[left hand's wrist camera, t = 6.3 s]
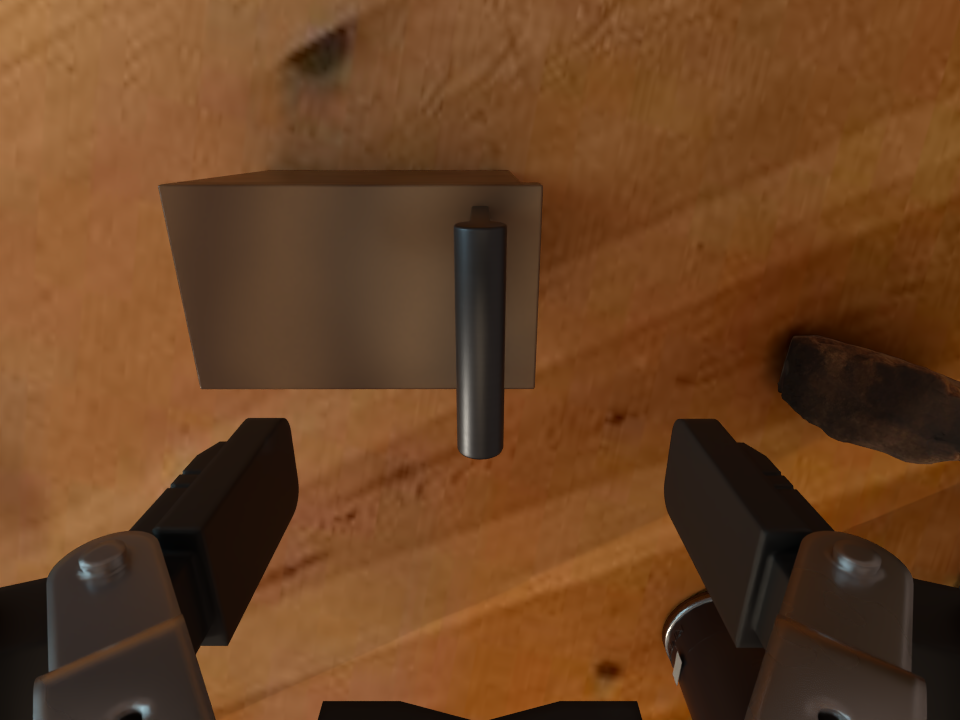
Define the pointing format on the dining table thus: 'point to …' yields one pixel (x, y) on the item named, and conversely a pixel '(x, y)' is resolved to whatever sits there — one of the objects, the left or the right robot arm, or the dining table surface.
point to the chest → (366, 176)
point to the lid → (363, 289)
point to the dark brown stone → (873, 399)
